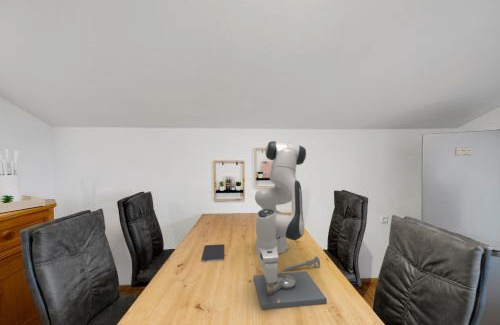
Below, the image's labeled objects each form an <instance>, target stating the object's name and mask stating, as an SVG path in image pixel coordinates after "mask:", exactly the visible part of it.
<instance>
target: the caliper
mask: <svg viewBox="0 0 500 325" xmlns="http://www.w3.org/2000/svg"><path fill="white" fill-rule="evenodd" d="M313 257H314V258H312V259H309V260H306V261H304V262H301V263H297V264H294V265H290V266H287V267H283V269H282V272H289V271H292V270H296V269H299V268H303V267H306V266H307V267H312V266H314V268H316V269H317V268H321V261H320V258H319V256H318V255H316V256H313Z"/></svg>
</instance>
